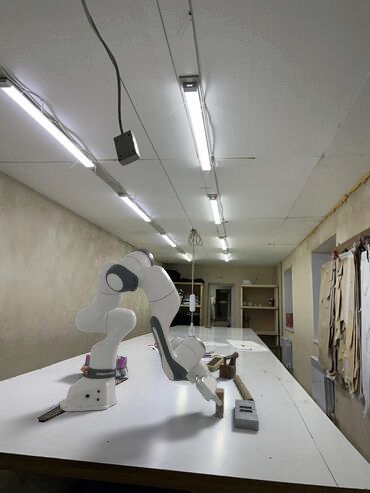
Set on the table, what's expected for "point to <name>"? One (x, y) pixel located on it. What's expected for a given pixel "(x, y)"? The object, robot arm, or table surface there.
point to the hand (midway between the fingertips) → (221, 401)
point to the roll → (243, 388)
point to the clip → (221, 408)
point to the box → (214, 363)
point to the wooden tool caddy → (228, 366)
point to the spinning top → (120, 364)
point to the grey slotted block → (246, 415)
